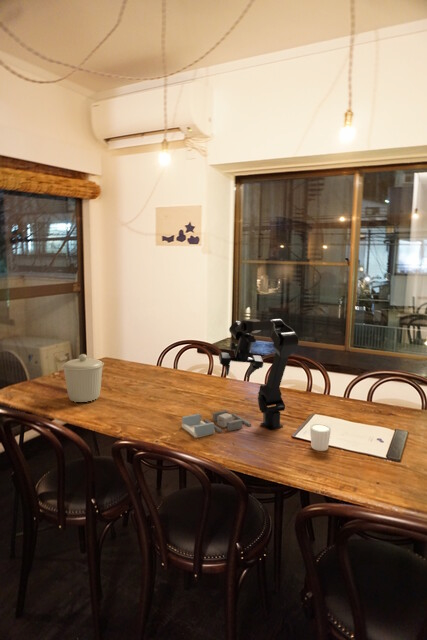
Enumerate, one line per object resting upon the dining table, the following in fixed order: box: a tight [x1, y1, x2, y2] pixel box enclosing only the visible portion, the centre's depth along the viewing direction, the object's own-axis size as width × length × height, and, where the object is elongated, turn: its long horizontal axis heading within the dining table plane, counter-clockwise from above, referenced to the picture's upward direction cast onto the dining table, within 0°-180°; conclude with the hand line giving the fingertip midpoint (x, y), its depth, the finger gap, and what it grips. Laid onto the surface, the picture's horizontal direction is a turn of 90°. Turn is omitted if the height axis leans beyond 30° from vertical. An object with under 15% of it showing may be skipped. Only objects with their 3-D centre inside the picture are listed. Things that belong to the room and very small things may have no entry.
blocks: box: [203, 409, 252, 434], centre depth 165 cm, size 12×14×3 cm
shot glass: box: [309, 423, 332, 452], centre depth 145 cm, size 7×7×7 cm
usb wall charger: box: [216, 412, 236, 428], centre depth 165 cm, size 4×7×4 cm, turn 135°
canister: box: [61, 353, 105, 403], centre depth 191 cm, size 18×18×21 cm
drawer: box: [181, 413, 216, 439], centre depth 159 cm, size 11×8×4 cm
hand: (237, 375), depth 186 cm, fingers open, 9 cm apart
